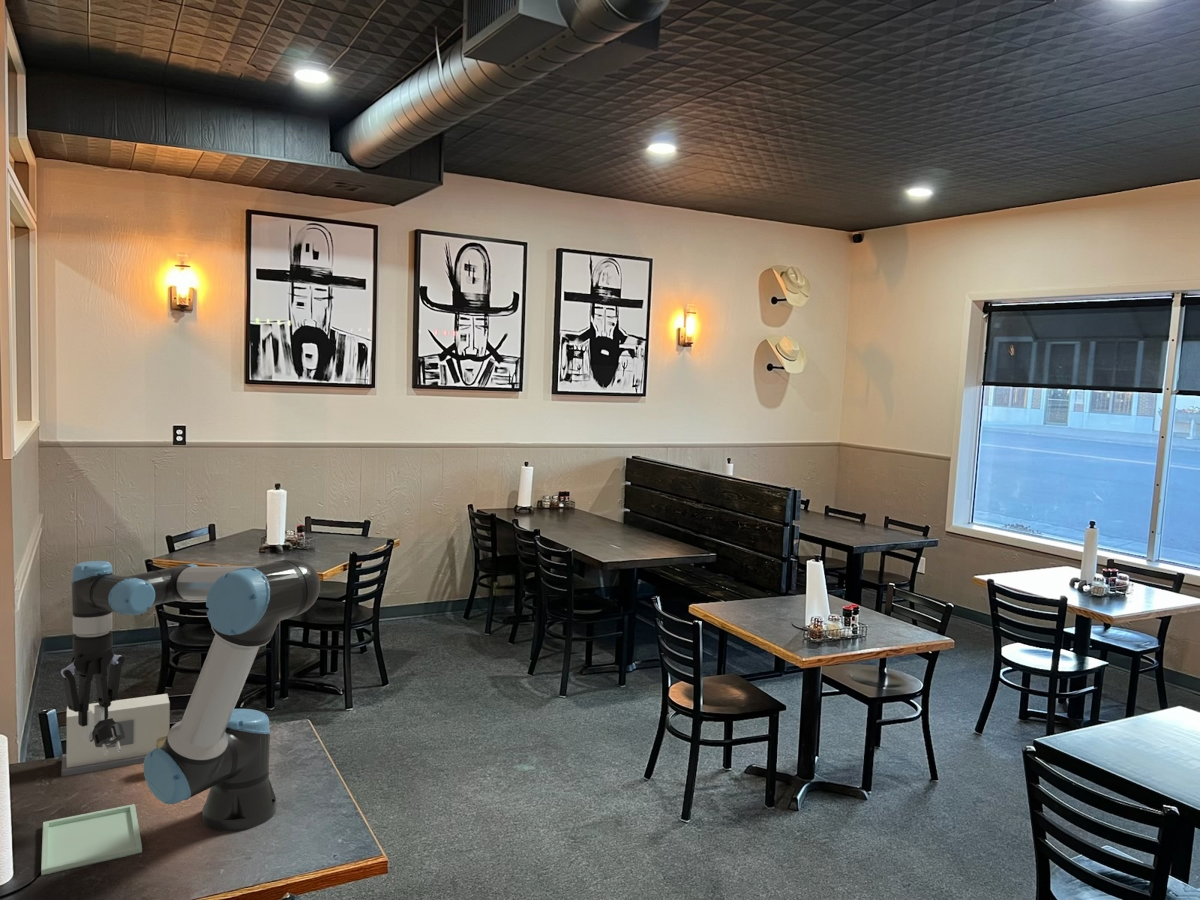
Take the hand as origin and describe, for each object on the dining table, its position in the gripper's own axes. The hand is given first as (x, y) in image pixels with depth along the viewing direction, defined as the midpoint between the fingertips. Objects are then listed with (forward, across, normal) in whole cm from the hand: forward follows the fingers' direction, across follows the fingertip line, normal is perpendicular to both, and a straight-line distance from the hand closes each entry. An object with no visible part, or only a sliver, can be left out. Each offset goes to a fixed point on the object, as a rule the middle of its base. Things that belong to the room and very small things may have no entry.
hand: (93, 736), depth 188 cm
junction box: (+16, -16, -19) cm, 29 cm away
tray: (+16, +8, +14) cm, 23 cm away
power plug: (+4, 0, 0) cm, 4 cm away
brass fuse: (+16, -19, -4) cm, 25 cm away
